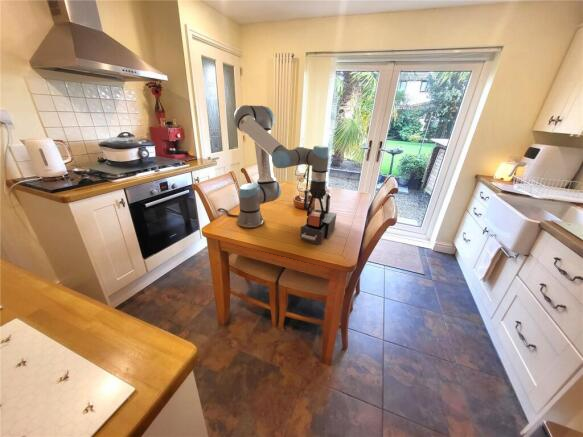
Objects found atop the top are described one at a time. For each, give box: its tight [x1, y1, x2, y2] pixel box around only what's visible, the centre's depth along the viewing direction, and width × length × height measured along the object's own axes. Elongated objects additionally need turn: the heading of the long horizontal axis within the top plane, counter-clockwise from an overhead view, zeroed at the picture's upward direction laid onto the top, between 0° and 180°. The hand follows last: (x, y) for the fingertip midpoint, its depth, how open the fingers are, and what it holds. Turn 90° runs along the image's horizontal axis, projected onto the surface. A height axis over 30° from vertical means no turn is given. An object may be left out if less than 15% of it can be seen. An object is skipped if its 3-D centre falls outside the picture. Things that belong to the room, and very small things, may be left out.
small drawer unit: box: [305, 209, 337, 240], centre depth 133 cm, size 15×13×10 cm
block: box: [308, 210, 321, 227], centre depth 120 cm, size 6×6×6 cm
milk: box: [314, 185, 331, 211], centre depth 147 cm, size 6×6×22 cm
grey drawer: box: [299, 221, 327, 246], centre depth 123 cm, size 18×11×8 cm, turn 155°
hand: (315, 223), depth 121 cm, fingers closed on block, 5 cm apart
